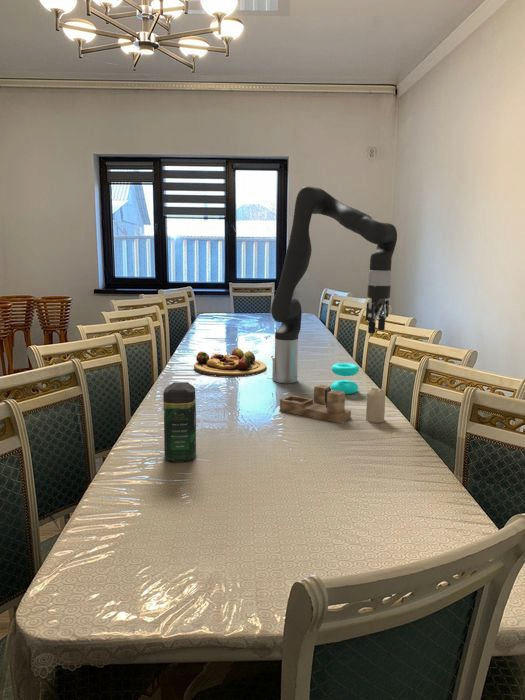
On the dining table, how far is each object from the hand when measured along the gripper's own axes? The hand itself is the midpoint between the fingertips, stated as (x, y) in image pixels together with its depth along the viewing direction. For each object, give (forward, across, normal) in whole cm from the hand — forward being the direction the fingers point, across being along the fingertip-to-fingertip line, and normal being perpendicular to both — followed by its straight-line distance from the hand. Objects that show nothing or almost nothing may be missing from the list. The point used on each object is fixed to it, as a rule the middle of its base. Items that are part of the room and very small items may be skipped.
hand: (376, 331), depth 176 cm
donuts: (+25, -5, -13) cm, 28 cm away
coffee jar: (+25, +76, -20) cm, 82 cm away
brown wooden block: (+24, +14, -12) cm, 31 cm away
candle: (+24, +20, +9) cm, 33 cm away
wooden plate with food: (+26, -10, -71) cm, 76 cm away
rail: (+24, +26, -9) cm, 37 cm away
